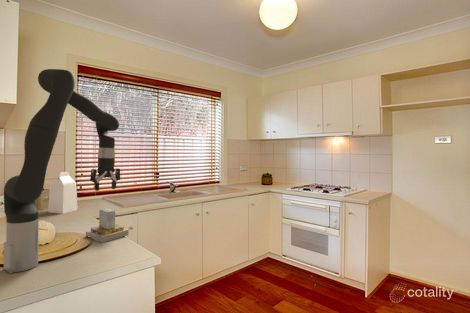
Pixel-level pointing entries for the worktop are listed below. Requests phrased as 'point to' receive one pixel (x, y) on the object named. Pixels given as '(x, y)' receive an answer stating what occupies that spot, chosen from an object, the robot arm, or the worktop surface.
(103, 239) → the dock
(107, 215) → the medicine box
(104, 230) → the pallet
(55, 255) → the worktop surface
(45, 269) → the worktop surface
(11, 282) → the worktop surface
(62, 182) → the milk
